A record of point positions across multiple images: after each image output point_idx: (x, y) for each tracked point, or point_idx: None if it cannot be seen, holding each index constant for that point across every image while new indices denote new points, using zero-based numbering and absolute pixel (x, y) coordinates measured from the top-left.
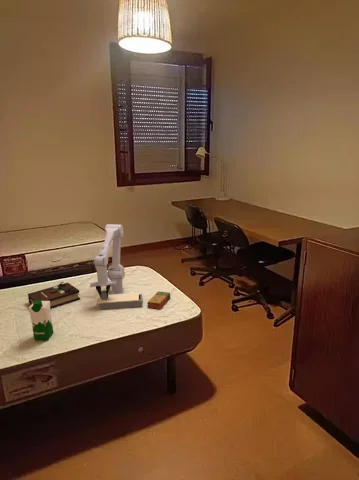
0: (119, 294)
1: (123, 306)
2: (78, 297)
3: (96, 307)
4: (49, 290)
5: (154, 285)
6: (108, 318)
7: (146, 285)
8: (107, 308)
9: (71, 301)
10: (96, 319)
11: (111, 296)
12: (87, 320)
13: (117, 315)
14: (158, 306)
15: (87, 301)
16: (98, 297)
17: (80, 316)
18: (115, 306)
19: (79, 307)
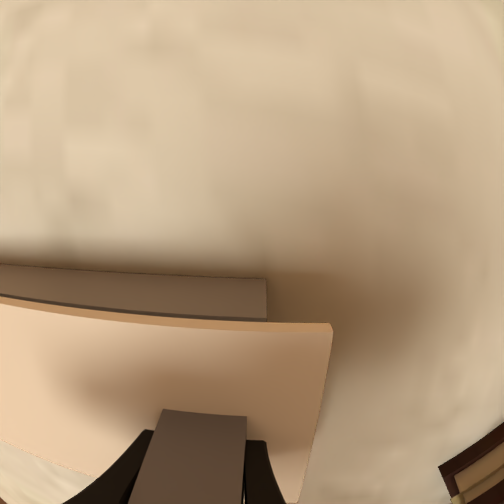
0: (59, 460)
1: (6, 270)
2: (450, 478)
3: None
4: None
5: (2, 482)
6: (145, 22)
7: (34, 501)
8: (171, 278)
9: (500, 432)
10: (295, 12)
11: None
12: (400, 20)
13: (52, 94)
14: None
15: (397, 452)
16: (299, 471)
17: (486, 145)
18: (69, 280)
19: (479, 356)
